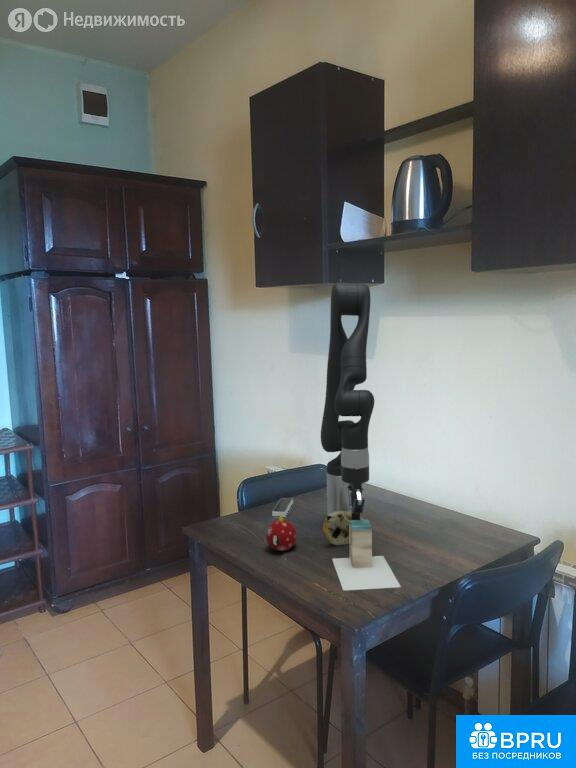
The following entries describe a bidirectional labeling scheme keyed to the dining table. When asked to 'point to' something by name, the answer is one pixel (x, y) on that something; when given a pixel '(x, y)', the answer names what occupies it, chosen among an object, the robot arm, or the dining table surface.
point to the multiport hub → (282, 507)
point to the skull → (338, 527)
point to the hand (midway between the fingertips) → (355, 525)
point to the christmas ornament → (281, 535)
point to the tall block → (360, 543)
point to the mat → (365, 575)
